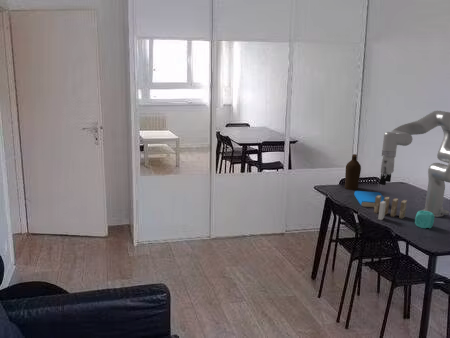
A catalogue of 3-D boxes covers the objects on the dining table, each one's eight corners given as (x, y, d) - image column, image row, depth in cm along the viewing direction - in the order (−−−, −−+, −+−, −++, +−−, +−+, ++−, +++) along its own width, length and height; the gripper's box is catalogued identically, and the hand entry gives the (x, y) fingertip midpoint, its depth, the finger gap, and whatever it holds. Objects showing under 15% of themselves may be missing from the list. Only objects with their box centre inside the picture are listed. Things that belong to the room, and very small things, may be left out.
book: (379, 192, 317) (389, 202, 293) (378, 198, 318) (388, 208, 294) (354, 190, 319) (361, 200, 294) (353, 196, 319) (360, 207, 295)
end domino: (384, 217, 274) (386, 201, 272) (381, 220, 270) (383, 203, 268) (380, 217, 275) (382, 200, 273) (378, 219, 271) (380, 202, 269)
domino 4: (404, 216, 278) (406, 200, 276) (402, 218, 274) (404, 202, 272) (401, 215, 279) (403, 199, 277) (399, 218, 275) (401, 201, 273)
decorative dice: (418, 222, 268) (420, 209, 266) (433, 226, 263) (435, 212, 261) (414, 226, 262) (415, 212, 260) (428, 229, 257) (430, 215, 255)
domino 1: (379, 211, 286) (381, 195, 284) (377, 213, 282) (378, 197, 280) (376, 210, 287) (378, 195, 285) (373, 212, 283) (375, 196, 281)
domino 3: (396, 214, 281) (398, 198, 279) (393, 216, 277) (395, 200, 275) (392, 214, 282) (394, 198, 280) (390, 216, 278) (392, 200, 276)
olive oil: (358, 191, 331) (361, 156, 326) (342, 189, 335) (346, 155, 329) (359, 187, 341) (363, 154, 335) (344, 185, 345) (348, 152, 339)
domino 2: (387, 213, 284) (389, 197, 281) (385, 215, 280) (387, 199, 277) (384, 212, 285) (386, 196, 282) (382, 214, 281) (383, 198, 278)
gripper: (391, 156, 255) (387, 187, 259) (399, 152, 269) (395, 181, 273) (377, 154, 259) (373, 184, 263) (386, 151, 273) (382, 179, 277)
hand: (385, 183), depth 268 cm, fingers open, 9 cm apart
